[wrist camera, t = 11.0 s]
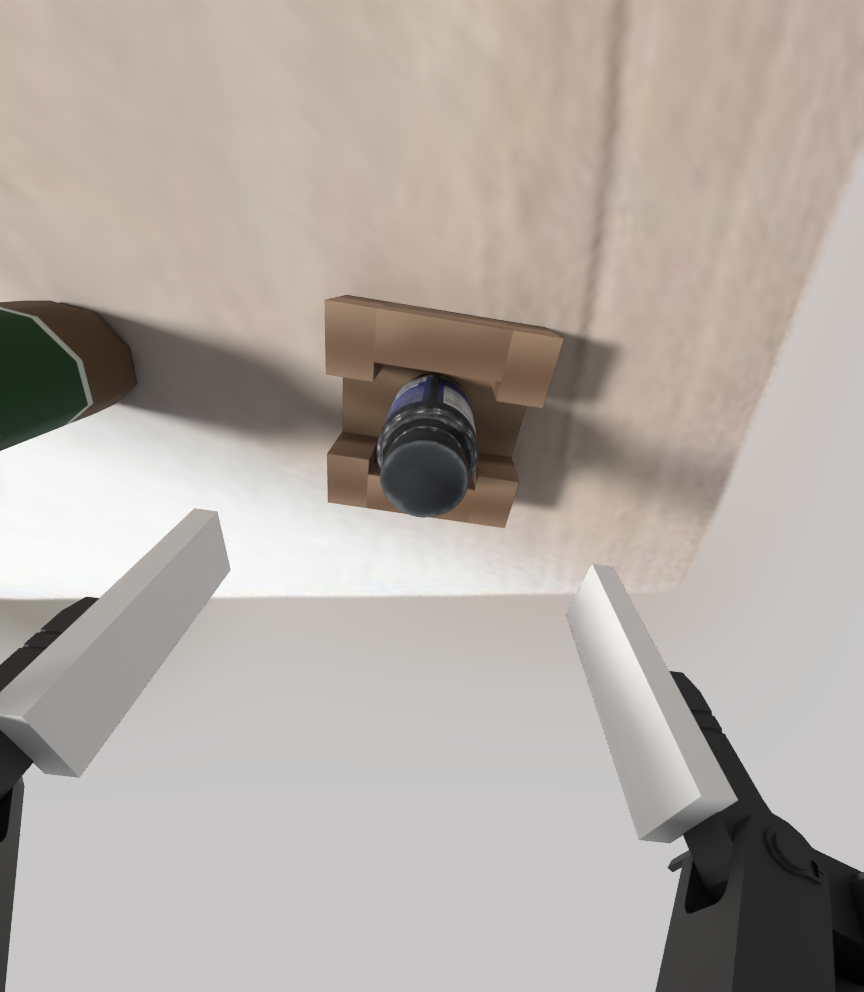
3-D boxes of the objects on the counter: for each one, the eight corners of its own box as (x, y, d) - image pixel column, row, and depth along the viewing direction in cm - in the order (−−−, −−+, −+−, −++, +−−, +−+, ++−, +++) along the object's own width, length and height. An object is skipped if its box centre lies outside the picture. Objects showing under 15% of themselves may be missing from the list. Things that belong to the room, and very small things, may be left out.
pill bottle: (394, 445, 30) (368, 526, 20) (392, 369, 27) (359, 423, 17) (469, 449, 30) (477, 531, 20) (476, 372, 26) (489, 428, 17)
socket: (346, 295, 25) (324, 299, 21) (545, 327, 25) (563, 338, 21) (344, 471, 32) (327, 502, 28) (498, 494, 33) (504, 528, 28)
